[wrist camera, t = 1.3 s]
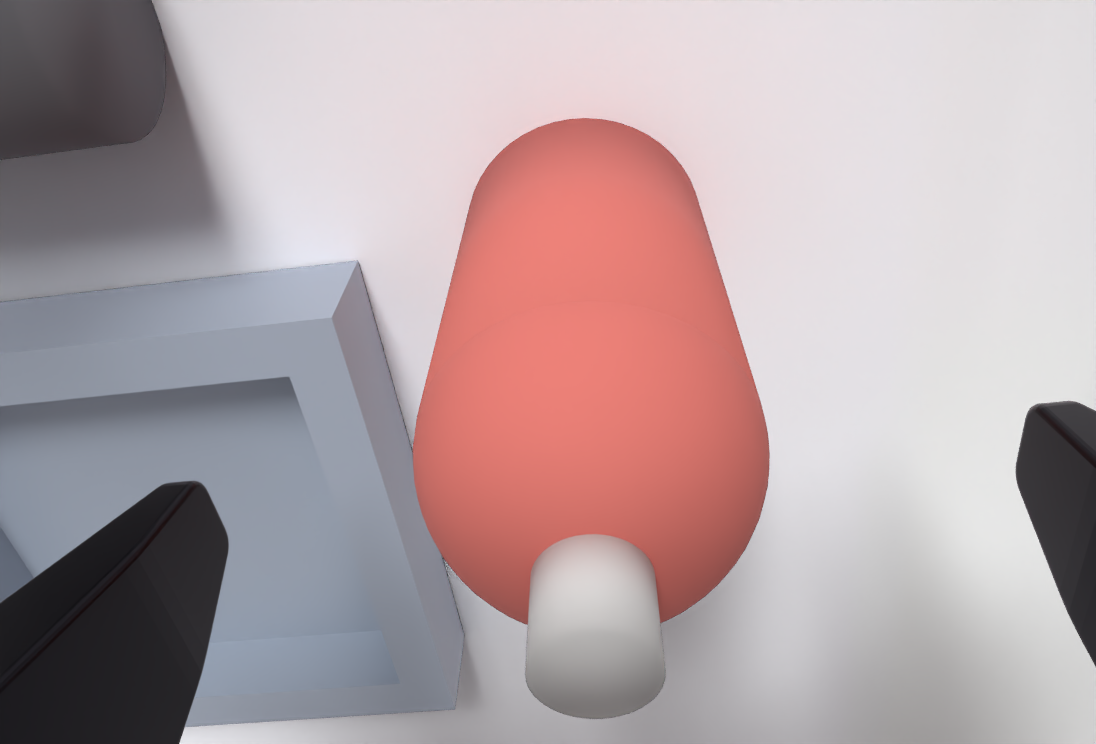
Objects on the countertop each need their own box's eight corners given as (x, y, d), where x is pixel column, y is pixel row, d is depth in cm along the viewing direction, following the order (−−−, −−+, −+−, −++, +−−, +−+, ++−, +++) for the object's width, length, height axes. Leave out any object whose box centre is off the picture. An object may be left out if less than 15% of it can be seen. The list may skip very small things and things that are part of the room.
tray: (357, 260, 15) (331, 317, 14) (464, 636, 21) (455, 709, 19) (-161, 320, 16) (-245, 380, 15) (71, 664, 22) (29, 737, 20)
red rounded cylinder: (695, 103, 14) (845, 477, 6) (704, 321, 16) (824, 794, 8) (446, 135, 14) (301, 524, 7) (489, 344, 16) (417, 815, 9)
